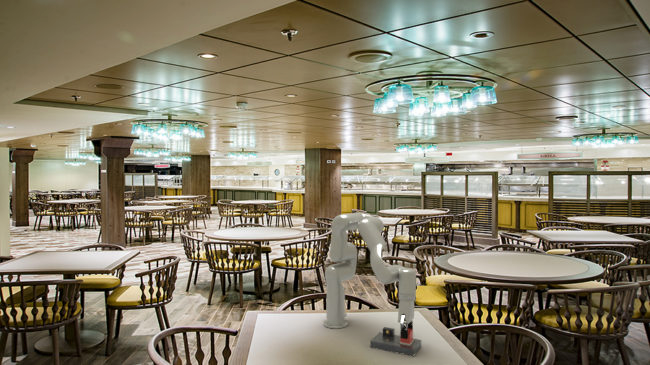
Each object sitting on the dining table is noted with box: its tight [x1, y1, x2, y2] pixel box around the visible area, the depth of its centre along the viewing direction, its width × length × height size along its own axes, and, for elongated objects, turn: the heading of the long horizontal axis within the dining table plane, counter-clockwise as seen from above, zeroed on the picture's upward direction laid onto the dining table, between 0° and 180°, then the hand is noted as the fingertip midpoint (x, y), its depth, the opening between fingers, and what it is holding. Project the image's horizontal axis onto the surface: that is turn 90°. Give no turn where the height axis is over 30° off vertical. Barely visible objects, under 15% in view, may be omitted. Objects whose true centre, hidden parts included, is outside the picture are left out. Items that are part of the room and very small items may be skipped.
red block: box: [399, 328, 414, 344], centre depth 191 cm, size 4×4×5 cm
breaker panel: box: [369, 327, 422, 356], centre depth 193 cm, size 12×20×6 cm, turn 62°
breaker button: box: [400, 340, 414, 346], centre depth 191 cm, size 5×5×3 cm
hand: (406, 335), depth 191 cm, fingers open, 7 cm apart
